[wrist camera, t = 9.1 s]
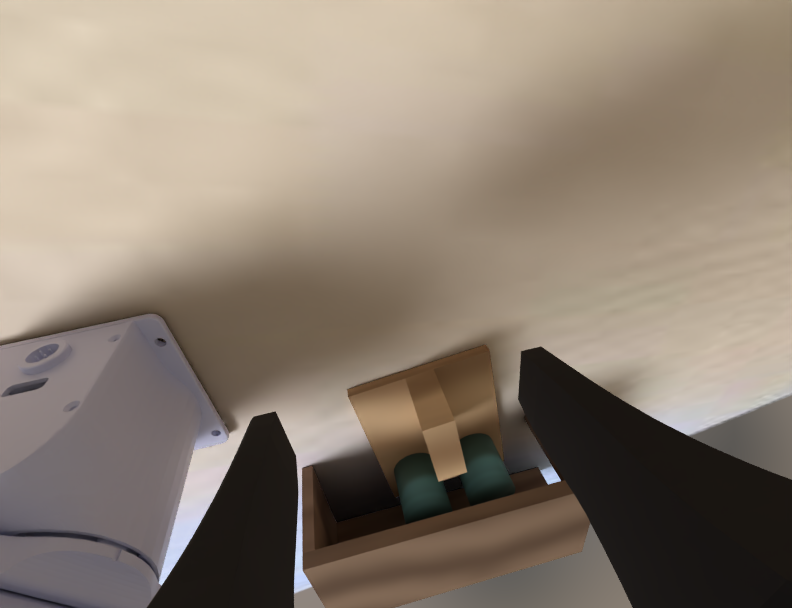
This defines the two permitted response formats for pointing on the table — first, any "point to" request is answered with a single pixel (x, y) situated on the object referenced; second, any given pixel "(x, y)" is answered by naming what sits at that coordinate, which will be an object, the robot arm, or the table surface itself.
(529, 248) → the table surface
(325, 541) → the wooden caddy
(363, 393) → the tray
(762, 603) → the robot arm
